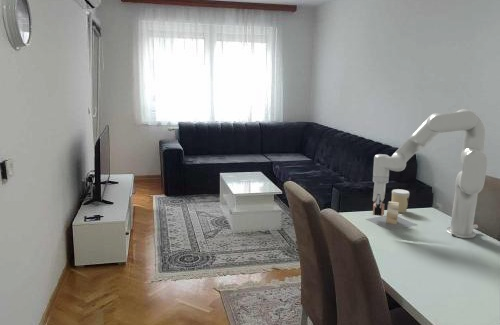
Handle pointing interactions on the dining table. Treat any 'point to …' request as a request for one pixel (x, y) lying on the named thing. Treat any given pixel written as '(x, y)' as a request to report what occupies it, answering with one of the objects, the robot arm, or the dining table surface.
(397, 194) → the coffee cup
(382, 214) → the terracotta block
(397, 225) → the baseplate
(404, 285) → the dining table surface
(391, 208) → the birch block
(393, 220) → the oak base brick
